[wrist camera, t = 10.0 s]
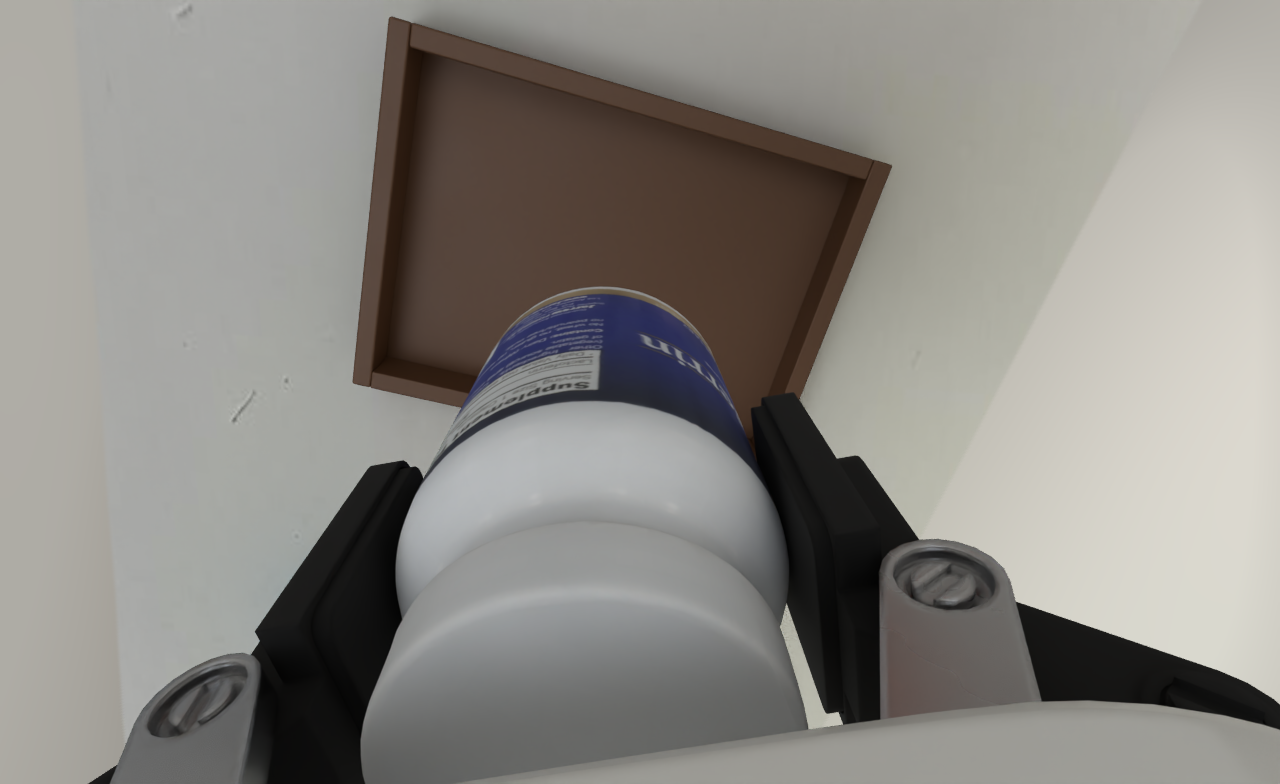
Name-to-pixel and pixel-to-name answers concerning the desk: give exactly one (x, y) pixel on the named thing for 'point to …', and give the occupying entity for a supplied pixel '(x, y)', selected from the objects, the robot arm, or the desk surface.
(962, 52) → the desk surface
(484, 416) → the pill bottle
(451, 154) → the tray
